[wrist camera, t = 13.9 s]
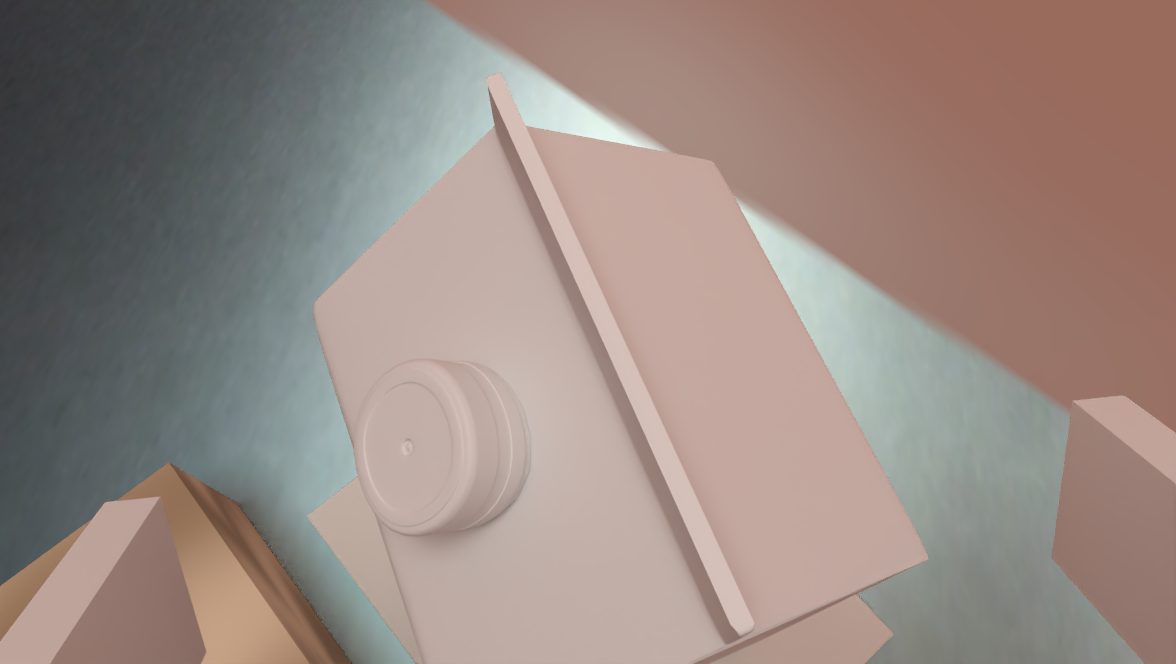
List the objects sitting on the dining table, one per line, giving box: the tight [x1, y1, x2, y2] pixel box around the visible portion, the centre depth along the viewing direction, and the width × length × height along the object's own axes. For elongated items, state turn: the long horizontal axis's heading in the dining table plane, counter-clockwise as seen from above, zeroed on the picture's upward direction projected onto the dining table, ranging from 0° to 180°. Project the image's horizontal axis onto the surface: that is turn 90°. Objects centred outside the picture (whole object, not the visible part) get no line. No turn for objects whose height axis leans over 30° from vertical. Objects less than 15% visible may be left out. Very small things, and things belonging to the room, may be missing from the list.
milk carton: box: [314, 73, 928, 664], centre depth 19 cm, size 7×7×19 cm
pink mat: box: [307, 476, 893, 664], centre depth 28 cm, size 14×11×1 cm
